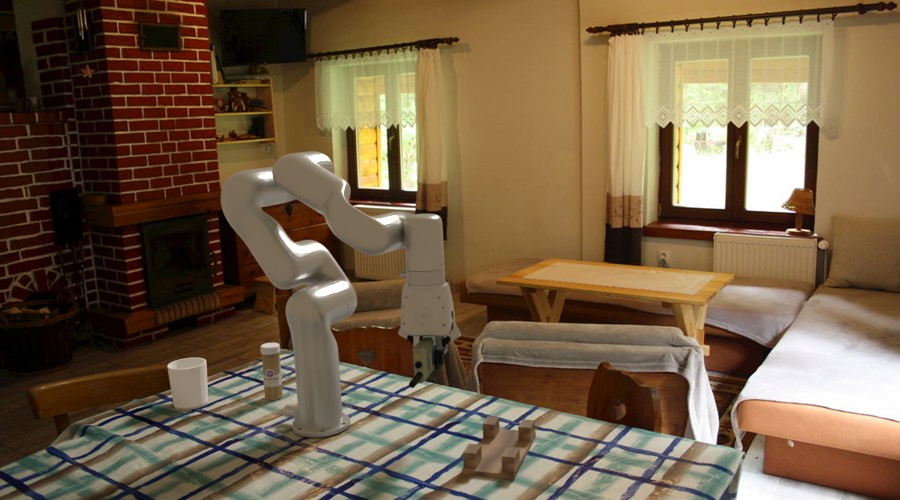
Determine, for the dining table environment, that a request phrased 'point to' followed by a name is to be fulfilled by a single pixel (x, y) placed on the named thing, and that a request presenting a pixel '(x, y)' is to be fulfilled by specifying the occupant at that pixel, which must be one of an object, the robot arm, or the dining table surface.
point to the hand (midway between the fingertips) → (431, 366)
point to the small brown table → (499, 450)
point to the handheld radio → (424, 359)
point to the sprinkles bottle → (271, 371)
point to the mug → (188, 383)
